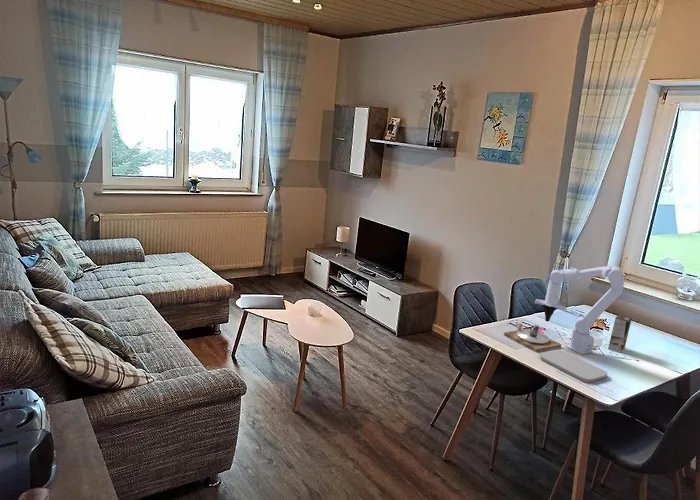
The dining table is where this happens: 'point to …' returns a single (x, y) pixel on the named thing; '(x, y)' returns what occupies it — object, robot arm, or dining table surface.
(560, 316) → the dining table surface
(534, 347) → the base board
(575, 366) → the tablet
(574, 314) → the dining table surface
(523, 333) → the white round dish
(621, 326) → the coffee box
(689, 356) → the dining table surface
